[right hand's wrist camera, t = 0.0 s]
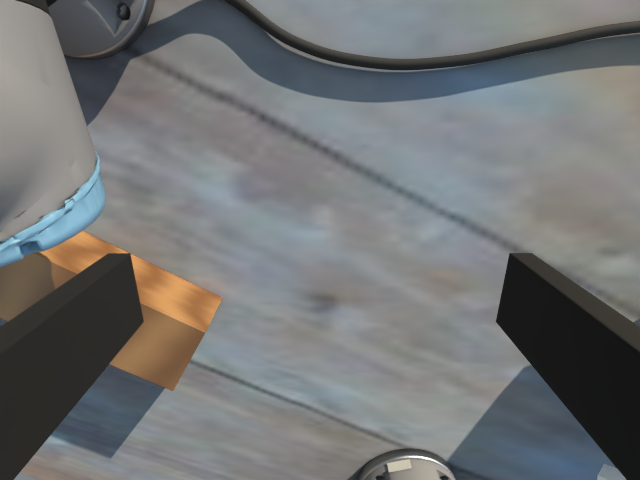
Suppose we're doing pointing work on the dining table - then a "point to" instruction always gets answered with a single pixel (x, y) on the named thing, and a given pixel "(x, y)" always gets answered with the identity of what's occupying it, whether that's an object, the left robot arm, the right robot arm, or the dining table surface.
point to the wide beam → (155, 298)
